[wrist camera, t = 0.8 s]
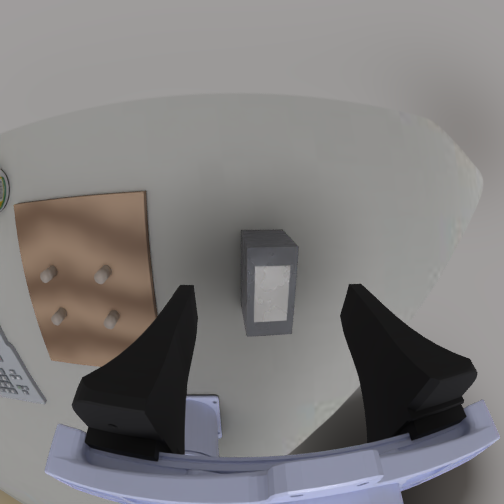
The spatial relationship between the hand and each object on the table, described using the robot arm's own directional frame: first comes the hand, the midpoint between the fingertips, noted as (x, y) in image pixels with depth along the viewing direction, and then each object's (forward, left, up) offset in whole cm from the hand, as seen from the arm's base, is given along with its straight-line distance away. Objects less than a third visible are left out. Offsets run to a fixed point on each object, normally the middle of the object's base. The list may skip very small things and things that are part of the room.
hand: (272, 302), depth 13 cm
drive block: (-4, -2, -15) cm, 16 cm away
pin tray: (-6, +17, -15) cm, 24 cm away
